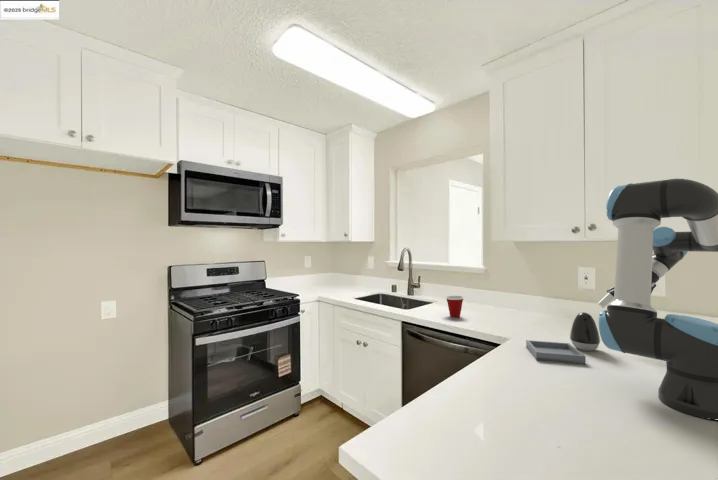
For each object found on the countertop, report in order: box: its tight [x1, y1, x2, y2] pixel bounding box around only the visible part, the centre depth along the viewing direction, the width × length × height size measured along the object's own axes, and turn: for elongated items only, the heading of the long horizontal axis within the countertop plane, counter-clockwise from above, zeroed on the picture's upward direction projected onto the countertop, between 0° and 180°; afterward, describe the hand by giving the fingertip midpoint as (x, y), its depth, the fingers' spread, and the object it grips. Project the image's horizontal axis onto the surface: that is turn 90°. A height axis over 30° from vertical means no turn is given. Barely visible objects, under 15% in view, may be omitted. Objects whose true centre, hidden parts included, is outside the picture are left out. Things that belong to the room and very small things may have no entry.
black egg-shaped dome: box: [569, 312, 601, 352], centre depth 132 cm, size 10×10×15 cm
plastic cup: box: [445, 295, 465, 318], centre depth 194 cm, size 11×11×12 cm
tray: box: [525, 339, 587, 365], centre depth 125 cm, size 16×16×3 cm
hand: (611, 308), depth 131 cm, fingers open, 13 cm apart
